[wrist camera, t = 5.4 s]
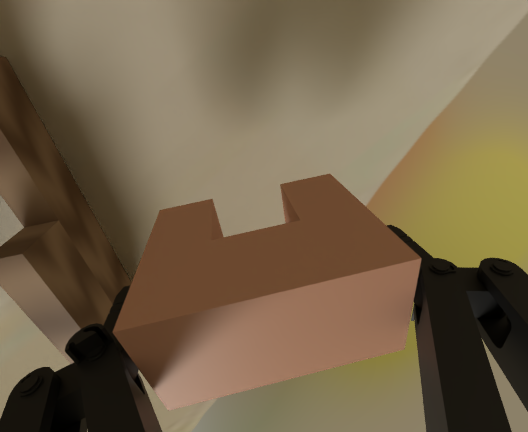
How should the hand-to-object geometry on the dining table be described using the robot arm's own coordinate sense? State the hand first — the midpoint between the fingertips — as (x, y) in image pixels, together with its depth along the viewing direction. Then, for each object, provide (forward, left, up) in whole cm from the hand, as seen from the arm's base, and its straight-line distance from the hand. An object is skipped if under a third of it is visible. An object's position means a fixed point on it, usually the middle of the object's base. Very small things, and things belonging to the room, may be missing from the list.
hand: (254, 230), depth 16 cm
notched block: (0, 0, 0) cm, 0 cm away
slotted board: (-1, -15, -9) cm, 17 cm away
